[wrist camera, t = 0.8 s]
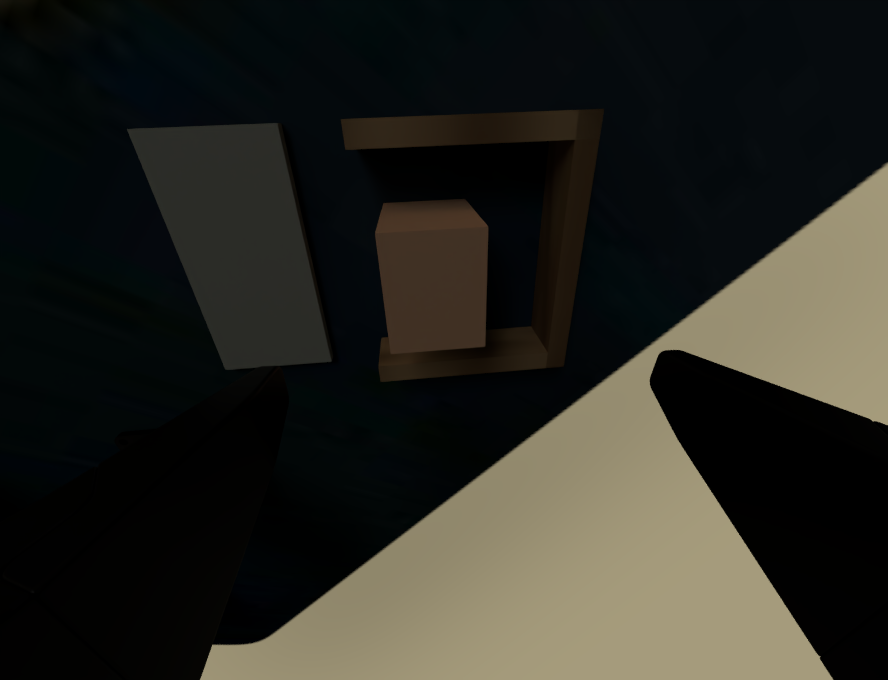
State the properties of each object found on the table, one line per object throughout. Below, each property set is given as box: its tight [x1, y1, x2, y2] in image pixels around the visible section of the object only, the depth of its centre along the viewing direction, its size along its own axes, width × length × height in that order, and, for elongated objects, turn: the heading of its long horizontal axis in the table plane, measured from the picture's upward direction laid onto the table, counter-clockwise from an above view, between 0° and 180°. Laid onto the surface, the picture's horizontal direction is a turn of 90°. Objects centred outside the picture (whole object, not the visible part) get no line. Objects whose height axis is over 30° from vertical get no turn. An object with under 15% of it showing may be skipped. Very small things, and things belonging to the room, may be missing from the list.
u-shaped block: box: [341, 109, 604, 382], centre depth 18 cm, size 10×12×3 cm
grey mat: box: [127, 123, 333, 370], centre depth 18 cm, size 6×12×1 cm, turn 2°
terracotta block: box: [375, 199, 488, 354], centre depth 17 cm, size 4×5×6 cm
